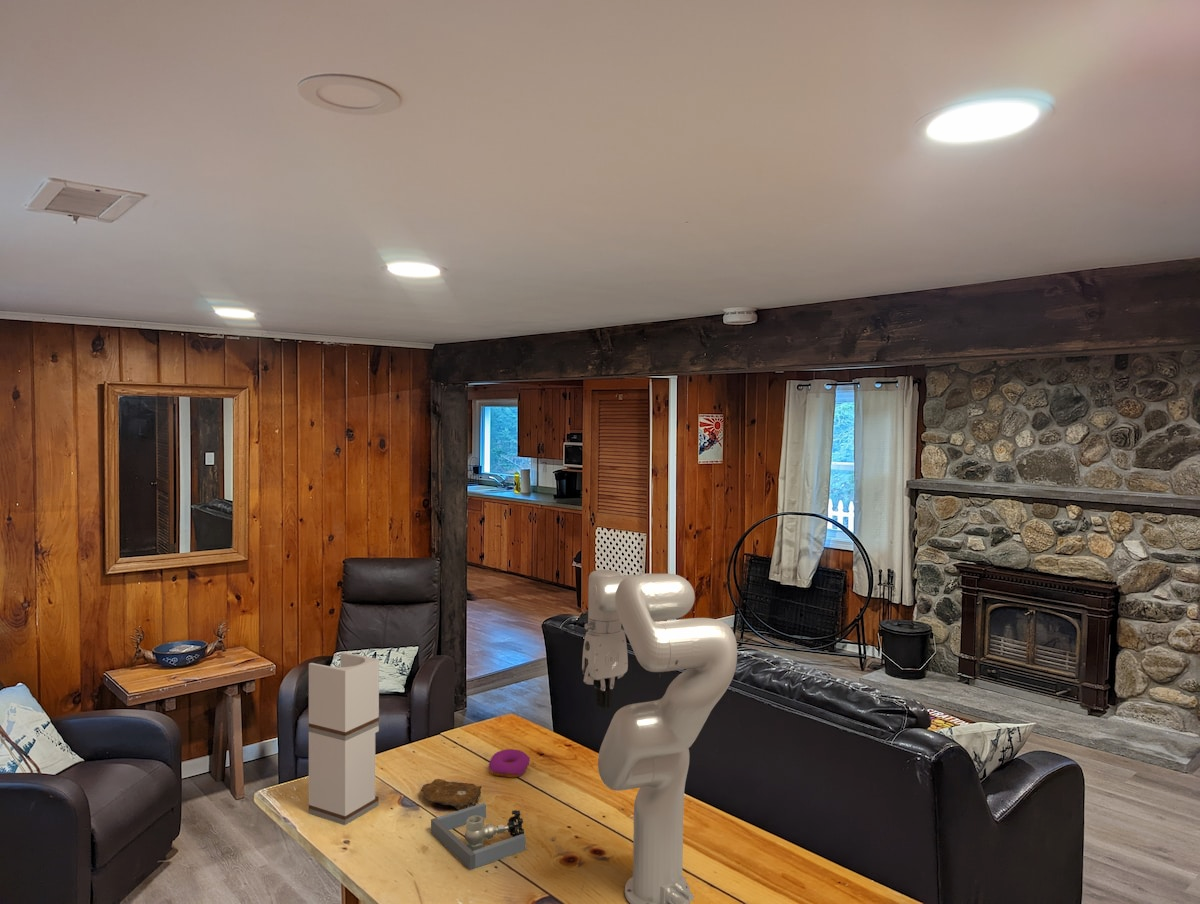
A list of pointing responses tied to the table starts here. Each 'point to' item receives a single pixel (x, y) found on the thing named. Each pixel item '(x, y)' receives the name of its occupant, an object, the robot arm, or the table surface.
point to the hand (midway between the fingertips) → (603, 705)
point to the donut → (509, 763)
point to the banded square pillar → (343, 737)
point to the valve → (490, 830)
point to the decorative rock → (452, 793)
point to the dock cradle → (461, 851)
